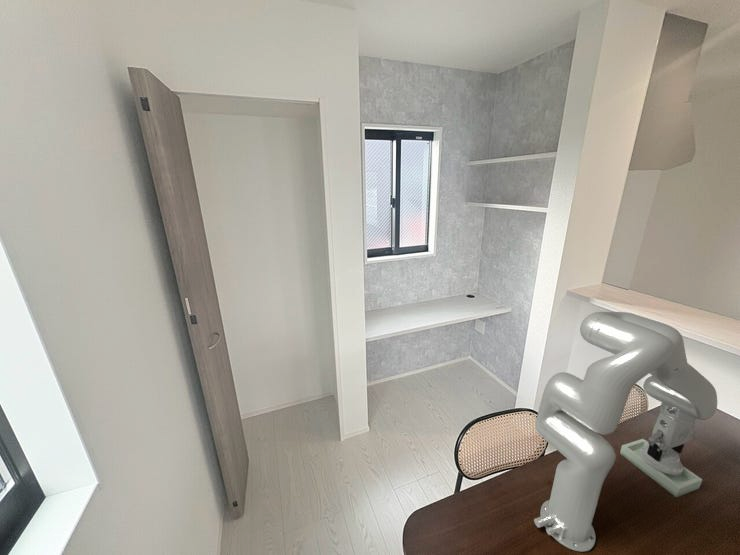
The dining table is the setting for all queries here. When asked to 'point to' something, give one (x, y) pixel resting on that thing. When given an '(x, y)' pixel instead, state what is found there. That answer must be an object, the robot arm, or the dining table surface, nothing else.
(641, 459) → the tray
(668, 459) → the mechanical component
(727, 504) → the dining table surface
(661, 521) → the dining table surface
